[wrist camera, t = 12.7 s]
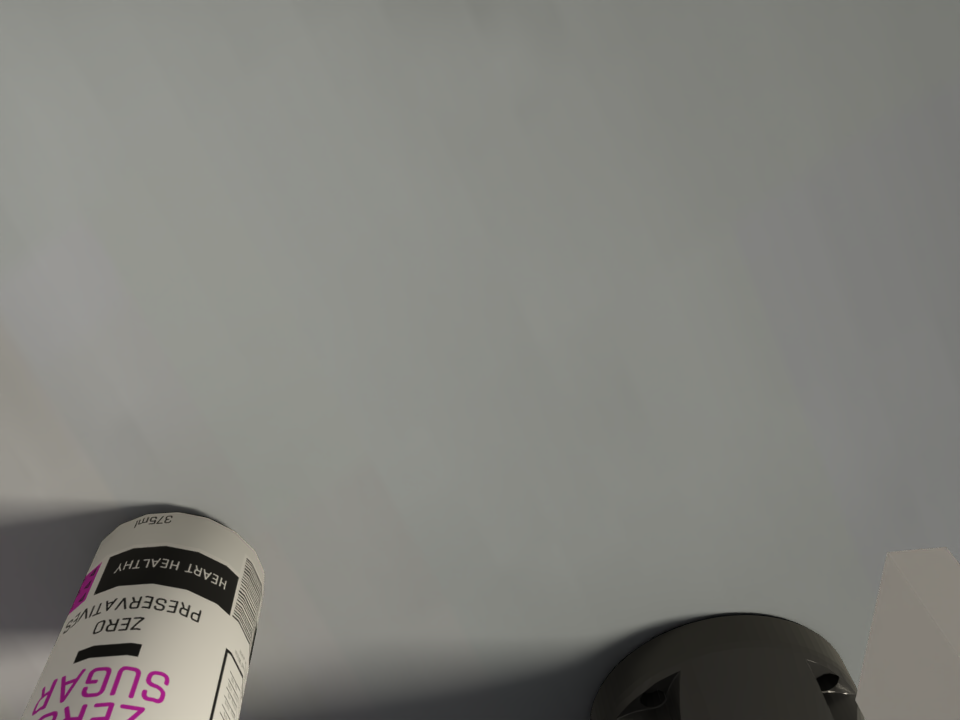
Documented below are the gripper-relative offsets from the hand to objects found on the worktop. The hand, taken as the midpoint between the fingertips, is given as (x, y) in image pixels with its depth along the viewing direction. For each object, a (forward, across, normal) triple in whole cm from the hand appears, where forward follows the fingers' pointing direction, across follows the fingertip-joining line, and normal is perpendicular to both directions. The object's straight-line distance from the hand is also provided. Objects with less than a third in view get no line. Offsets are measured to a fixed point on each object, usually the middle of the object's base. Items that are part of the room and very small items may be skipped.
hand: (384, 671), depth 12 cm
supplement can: (+27, +13, +21) cm, 37 cm away
